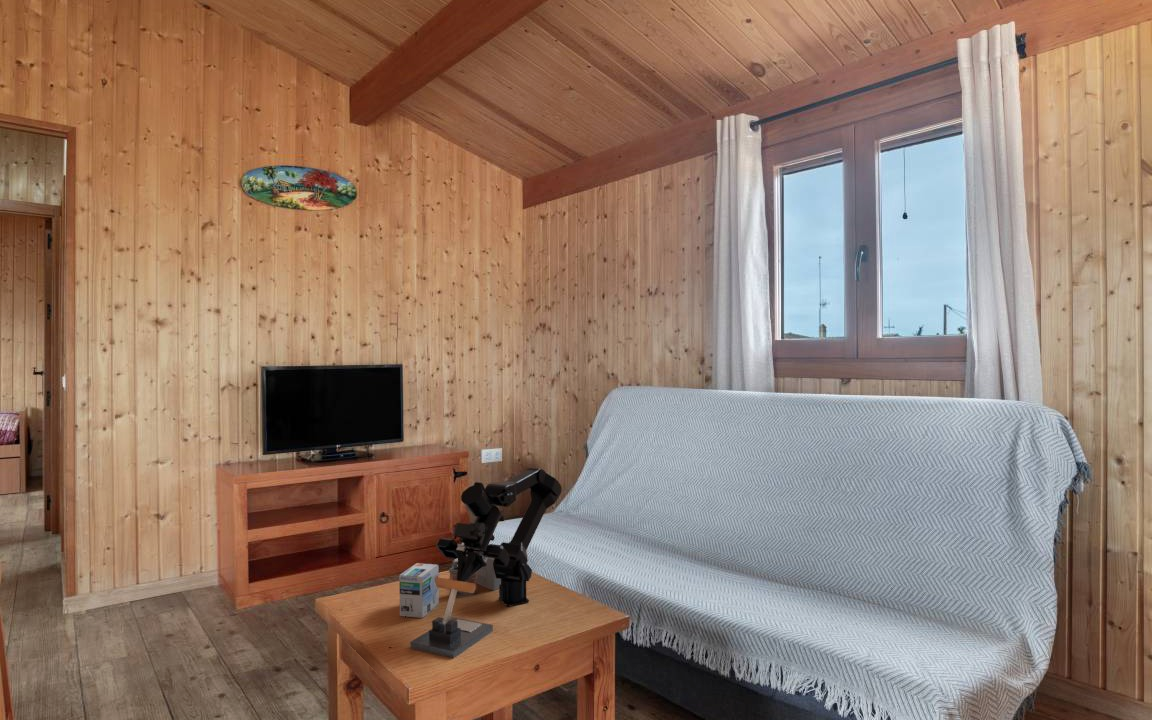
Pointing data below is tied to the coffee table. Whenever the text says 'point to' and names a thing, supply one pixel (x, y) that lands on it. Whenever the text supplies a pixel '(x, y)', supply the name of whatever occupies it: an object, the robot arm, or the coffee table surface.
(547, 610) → the coffee table surface
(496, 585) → the cassette player
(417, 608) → the light bulb box
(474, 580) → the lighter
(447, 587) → the lever
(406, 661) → the coffee table surface
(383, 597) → the coffee table surface
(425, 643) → the switch panel
